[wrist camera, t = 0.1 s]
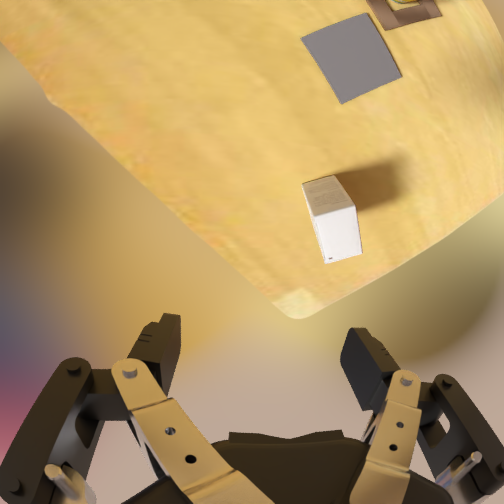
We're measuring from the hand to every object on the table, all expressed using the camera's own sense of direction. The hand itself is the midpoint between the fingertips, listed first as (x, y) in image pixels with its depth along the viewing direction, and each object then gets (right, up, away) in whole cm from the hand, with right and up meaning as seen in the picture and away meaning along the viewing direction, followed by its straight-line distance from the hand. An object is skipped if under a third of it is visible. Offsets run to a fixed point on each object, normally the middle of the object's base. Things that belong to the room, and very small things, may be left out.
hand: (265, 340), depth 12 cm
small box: (+11, +12, +30) cm, 34 cm away
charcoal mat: (+13, +31, +16) cm, 37 cm away
